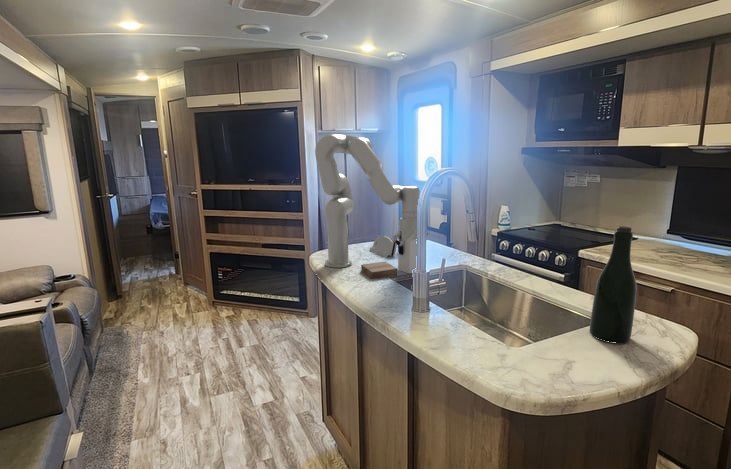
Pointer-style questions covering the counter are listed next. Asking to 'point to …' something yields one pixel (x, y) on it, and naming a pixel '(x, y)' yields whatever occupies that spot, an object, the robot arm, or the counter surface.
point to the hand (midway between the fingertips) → (410, 252)
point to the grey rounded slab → (384, 246)
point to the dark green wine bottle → (615, 293)
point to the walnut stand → (379, 270)
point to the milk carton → (408, 255)
